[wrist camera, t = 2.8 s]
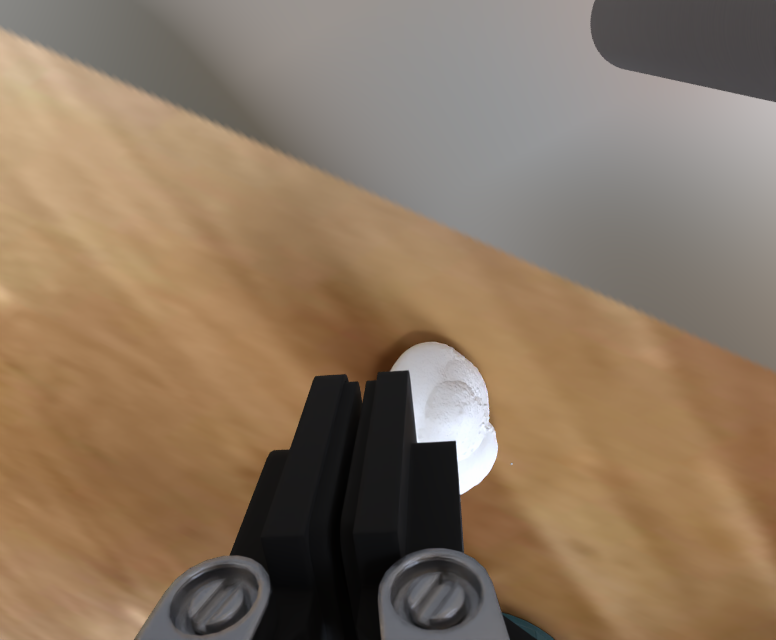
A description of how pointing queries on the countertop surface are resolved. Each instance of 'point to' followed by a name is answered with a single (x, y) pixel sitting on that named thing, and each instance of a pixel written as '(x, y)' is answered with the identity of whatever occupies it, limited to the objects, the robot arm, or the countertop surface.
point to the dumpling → (451, 407)
